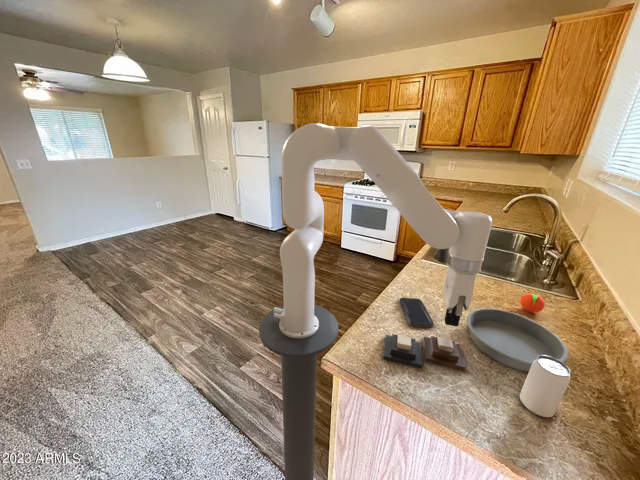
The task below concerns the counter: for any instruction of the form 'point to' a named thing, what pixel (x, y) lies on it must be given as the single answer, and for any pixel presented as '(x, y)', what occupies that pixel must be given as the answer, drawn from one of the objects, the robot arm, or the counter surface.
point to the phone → (416, 312)
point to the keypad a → (402, 352)
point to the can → (545, 386)
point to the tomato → (532, 302)
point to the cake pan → (513, 338)
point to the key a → (404, 342)
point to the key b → (444, 344)
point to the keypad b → (443, 354)
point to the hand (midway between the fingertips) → (451, 323)
